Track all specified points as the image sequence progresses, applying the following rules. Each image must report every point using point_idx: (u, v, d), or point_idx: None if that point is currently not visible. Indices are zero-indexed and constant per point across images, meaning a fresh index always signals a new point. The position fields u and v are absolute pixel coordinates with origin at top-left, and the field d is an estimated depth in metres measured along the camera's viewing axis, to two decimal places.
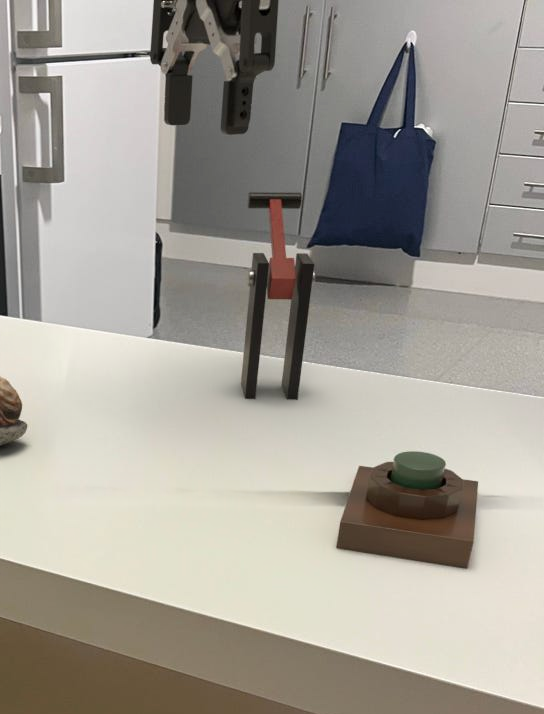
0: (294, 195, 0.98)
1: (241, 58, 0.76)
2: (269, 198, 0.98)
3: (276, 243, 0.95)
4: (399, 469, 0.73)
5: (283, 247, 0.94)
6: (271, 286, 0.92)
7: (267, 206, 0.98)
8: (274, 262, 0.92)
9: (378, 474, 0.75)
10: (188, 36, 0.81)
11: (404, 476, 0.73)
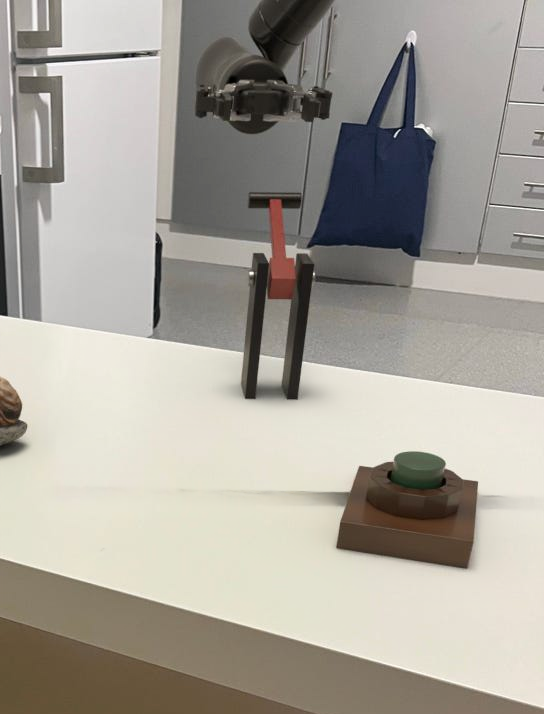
0: (294, 195, 0.98)
1: None
2: (269, 198, 0.98)
3: (276, 243, 0.95)
4: (399, 469, 0.73)
5: (283, 247, 0.94)
6: (271, 286, 0.92)
7: (267, 206, 0.98)
8: (274, 262, 0.92)
9: (378, 474, 0.75)
10: (274, 113, 1.09)
11: (404, 476, 0.73)
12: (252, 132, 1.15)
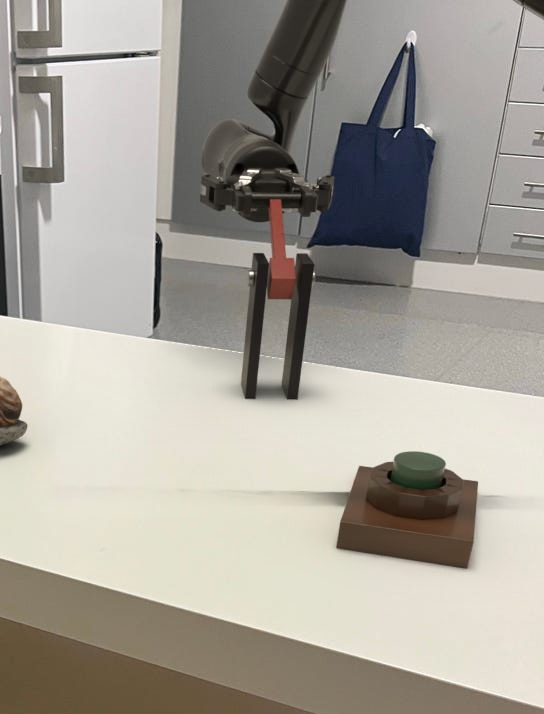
0: (294, 195, 0.98)
1: None
2: (269, 198, 0.98)
3: (276, 243, 0.95)
4: (399, 469, 0.73)
5: (283, 247, 0.94)
6: (271, 286, 0.92)
7: (267, 206, 0.98)
8: (274, 262, 0.92)
9: (378, 474, 0.75)
10: None
11: (404, 476, 0.73)
12: (260, 220, 1.08)
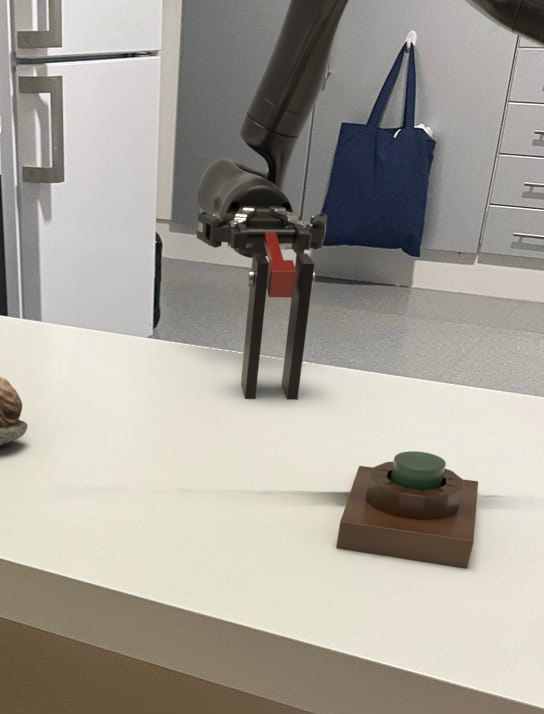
0: (288, 229, 1.01)
1: None
2: (264, 231, 1.00)
3: (274, 256, 0.96)
4: (399, 469, 0.73)
5: (281, 258, 0.95)
6: (272, 281, 0.92)
7: (262, 239, 1.01)
8: (273, 262, 0.93)
9: (378, 474, 0.75)
10: None
11: (404, 476, 0.73)
12: None
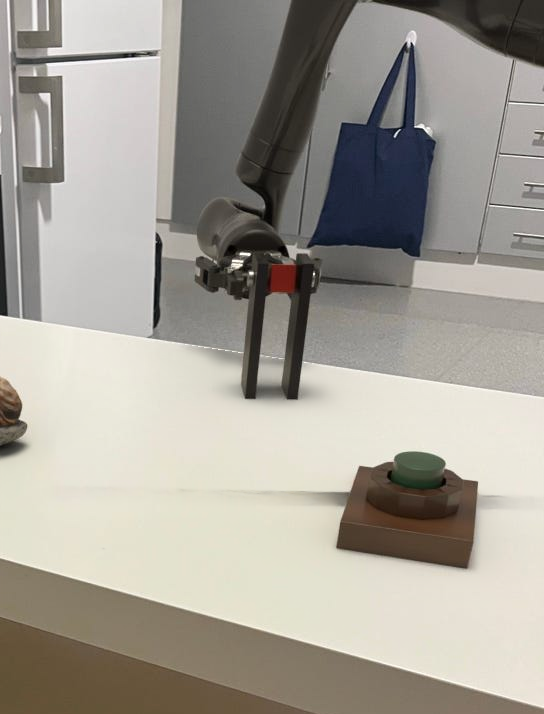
0: None
1: None
2: None
3: None
4: (399, 469, 0.73)
5: None
6: (272, 274, 0.92)
7: None
8: None
9: (378, 474, 0.75)
10: None
11: (404, 476, 0.73)
12: None
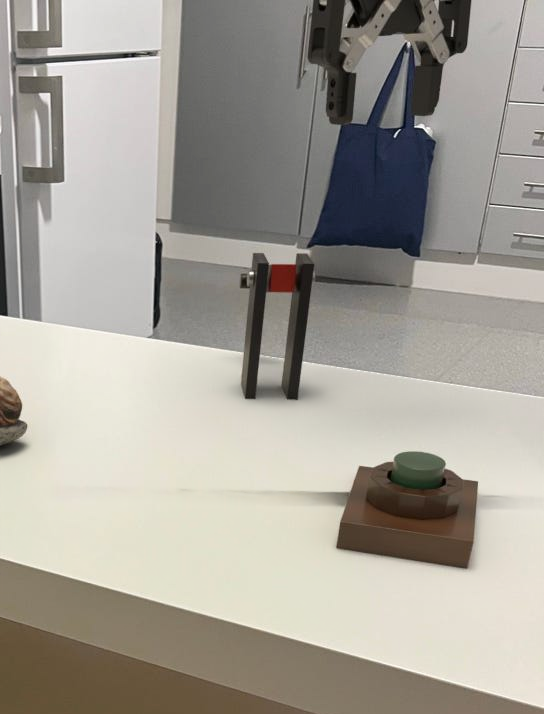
0: None
1: None
2: None
3: None
4: (399, 469, 0.73)
5: None
6: (272, 274, 0.92)
7: None
8: None
9: (378, 474, 0.75)
10: None
11: (404, 476, 0.73)
12: None
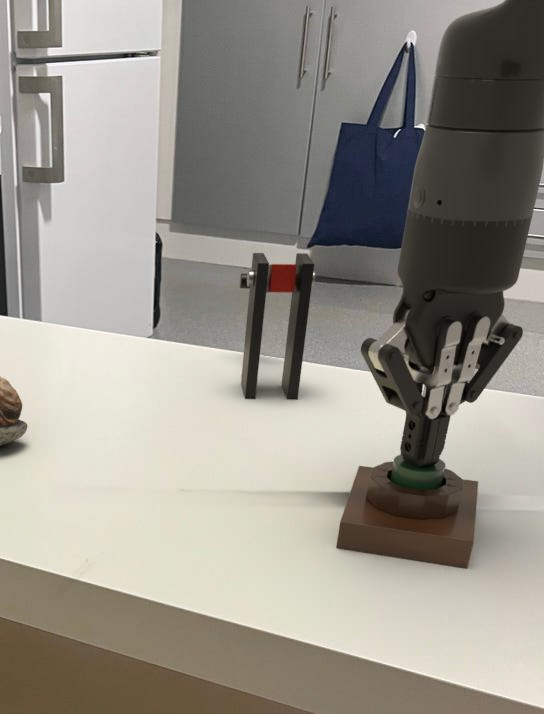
0: None
1: None
2: None
3: None
4: (399, 471, 0.73)
5: None
6: (272, 274, 0.92)
7: None
8: None
9: (378, 474, 0.75)
10: None
11: (403, 478, 0.73)
12: None
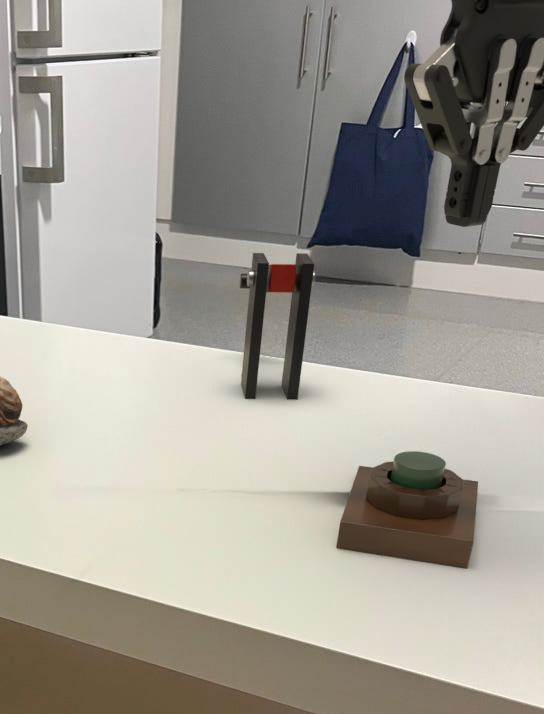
0: None
1: None
2: None
3: None
4: (399, 469, 0.73)
5: None
6: (272, 274, 0.92)
7: None
8: None
9: (378, 474, 0.75)
10: None
11: (404, 476, 0.73)
12: None
